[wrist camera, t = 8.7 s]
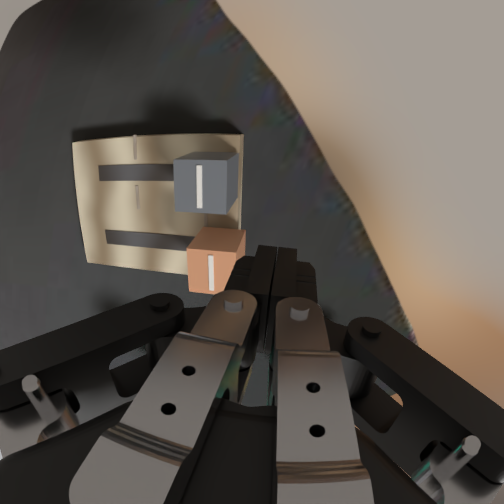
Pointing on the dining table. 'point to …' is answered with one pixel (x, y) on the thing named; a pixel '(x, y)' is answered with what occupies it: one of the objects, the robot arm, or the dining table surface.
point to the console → (143, 199)
